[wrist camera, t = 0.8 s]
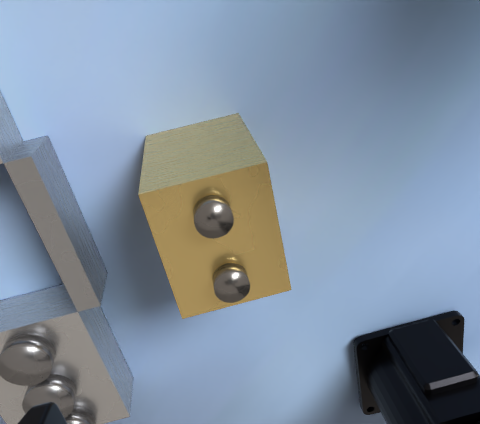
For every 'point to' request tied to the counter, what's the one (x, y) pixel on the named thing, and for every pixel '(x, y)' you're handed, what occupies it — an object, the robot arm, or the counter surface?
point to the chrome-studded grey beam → (58, 303)
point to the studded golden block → (213, 215)
